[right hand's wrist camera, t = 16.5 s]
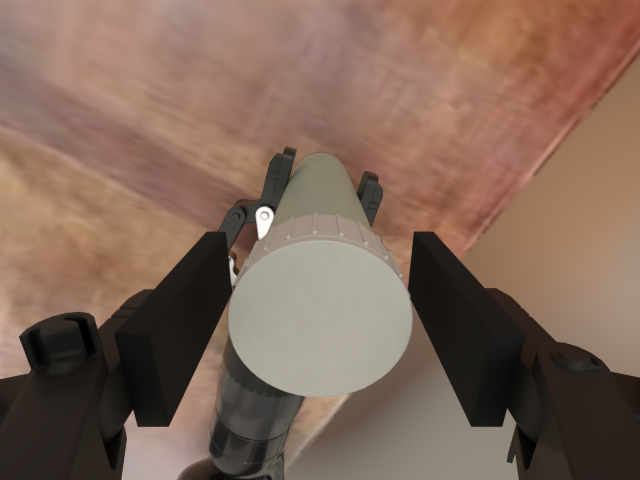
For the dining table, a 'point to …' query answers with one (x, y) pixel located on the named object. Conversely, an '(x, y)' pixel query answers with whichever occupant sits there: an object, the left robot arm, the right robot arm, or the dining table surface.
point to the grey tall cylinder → (320, 192)
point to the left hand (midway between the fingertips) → (331, 162)
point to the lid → (320, 307)
